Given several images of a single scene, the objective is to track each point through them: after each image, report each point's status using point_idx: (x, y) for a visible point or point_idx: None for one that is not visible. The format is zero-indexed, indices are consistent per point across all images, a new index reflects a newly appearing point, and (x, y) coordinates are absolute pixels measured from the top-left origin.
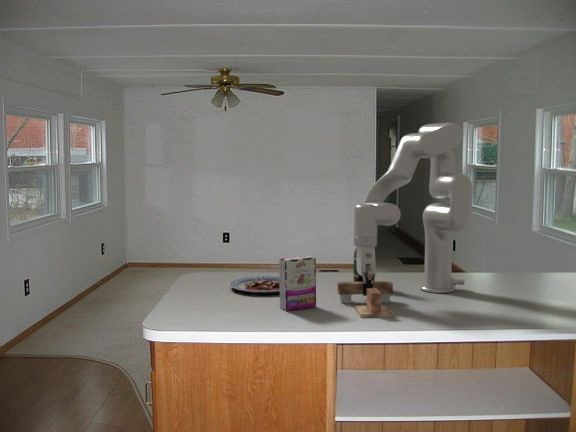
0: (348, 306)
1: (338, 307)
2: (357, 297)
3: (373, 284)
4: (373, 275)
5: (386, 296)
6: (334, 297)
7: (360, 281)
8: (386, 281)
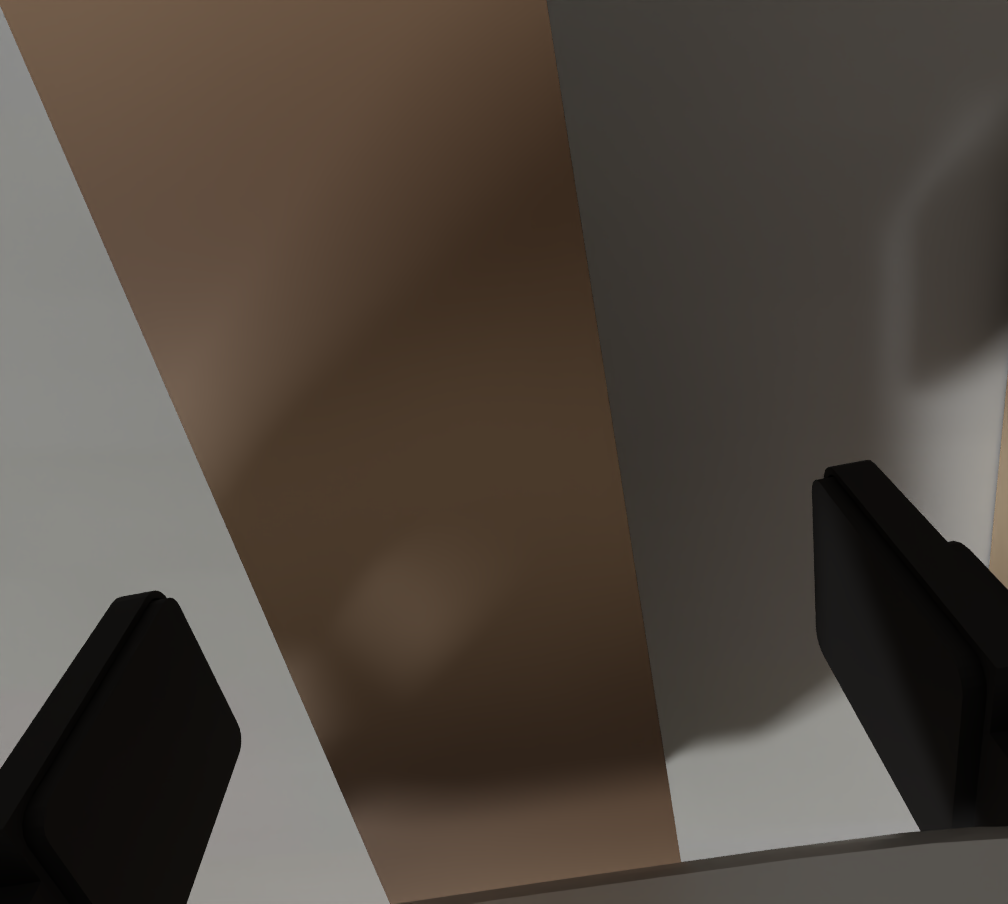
0: (813, 700)
1: (860, 799)
2: (197, 609)
3: (630, 569)
4: (708, 858)
5: None
6: (296, 867)
7: (162, 850)
8: (95, 70)
